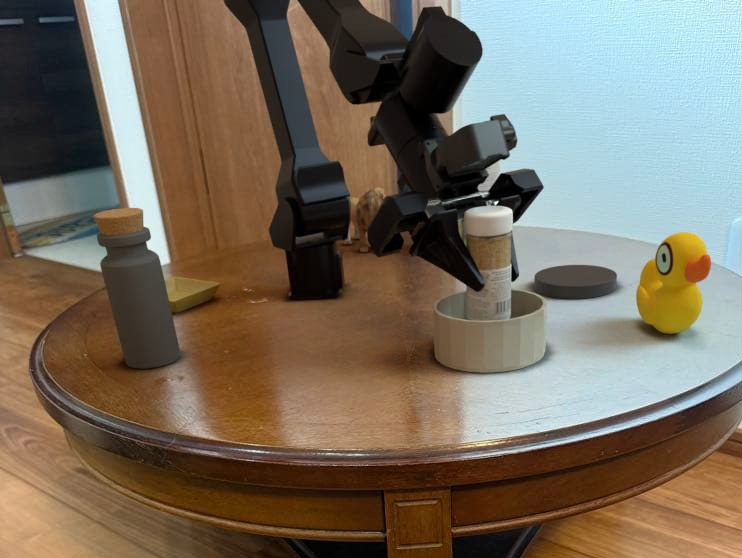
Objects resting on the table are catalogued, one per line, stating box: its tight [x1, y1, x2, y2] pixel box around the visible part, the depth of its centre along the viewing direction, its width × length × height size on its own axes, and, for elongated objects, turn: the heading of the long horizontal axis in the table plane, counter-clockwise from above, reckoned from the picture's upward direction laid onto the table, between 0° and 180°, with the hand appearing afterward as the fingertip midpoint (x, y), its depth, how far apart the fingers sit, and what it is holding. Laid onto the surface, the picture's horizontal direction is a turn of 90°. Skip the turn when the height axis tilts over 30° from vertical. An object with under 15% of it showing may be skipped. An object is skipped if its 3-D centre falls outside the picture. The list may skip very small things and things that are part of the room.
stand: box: [533, 264, 618, 300], centre depth 99 cm, size 10×10×2 cm
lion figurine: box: [343, 187, 387, 253], centre depth 123 cm, size 15×5×9 cm, turn 33°
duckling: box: [635, 231, 712, 335], centre depth 81 cm, size 11×5×10 cm, turn 11°
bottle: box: [93, 207, 181, 369], centre depth 82 cm, size 6×6×15 cm
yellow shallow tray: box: [164, 276, 221, 314], centre depth 104 cm, size 9×9×2 cm
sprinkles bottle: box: [464, 206, 514, 321], centre depth 78 cm, size 5×5×14 cm
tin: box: [432, 288, 548, 374], centre depth 81 cm, size 11×11×5 cm
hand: (498, 284), depth 77 cm, fingers closed on sprinkles bottle, 4 cm apart
